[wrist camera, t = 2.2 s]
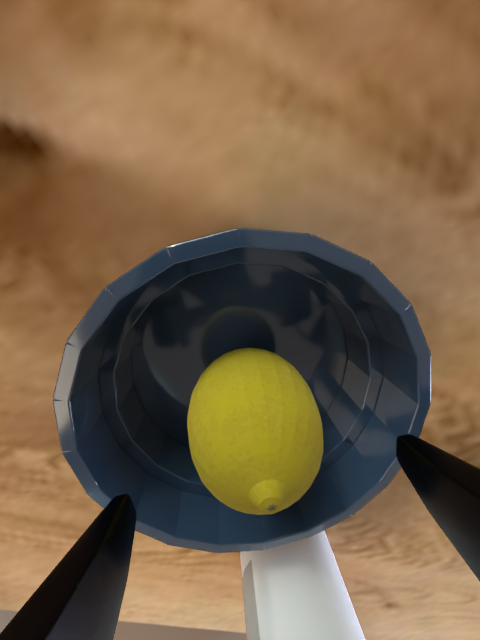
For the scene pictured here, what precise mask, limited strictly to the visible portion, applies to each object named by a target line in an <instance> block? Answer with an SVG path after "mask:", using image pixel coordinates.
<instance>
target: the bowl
mask: <svg viewBox="0 0 480 640" xmlns="http://www.w3.org/2000/svg"><path fill="white" fill-rule="evenodd" d="M249 347H250V348H259V349H265V350H267V351H270V352H273V353H275V354H277V355H279V356H281V357H282V358H283V359H285V360H286V361H287V362H289V363H290V364H291V365H293V366H294V367H295V369H296V370H297V371H298V372H299V373H300V375H301V376H302V377H303V379H304V380H305V381H306V383H307V384H308V386H309V387H310V389H311V392H312V394H313V397H314V399H315V402H316V404H317V407H318V410H319V413H320V416H321V421H322V428H323V455H322V460H321V464H320V468H319V471H318V473H317V475H316V477H315V479H314V481H313V483H312V485H311V486H310V488H309V489H308V490H307V491H306V493H305V494H304V495H303V496H302V497H301V498H300V499H299V500H298V501H296V502H295V503H293V504H292V505H291V506H289V507H287V508H285V509H283V510H281V511H279V512H276V513H274V514H265V515H255V514H247V513H243V512H240V511H237V510H234V509H232V508H230V507H228V506H227V505H225V504H224V503H222V502H221V501H219V500H218V499H217V498H216V497H214V496H213V494H212V493H211V492H210V491H209V490H208V489H207V488H206V487H205V485H204V484H203V482H202V481H201V479H200V477H199V474H198V472H197V470H196V468H195V465H194V463H193V460H192V457H191V452H190V447H189V437H188V428H187V417H188V410H189V405H190V400H191V395H192V392H193V389H194V387H195V386H196V384H197V382H198V380H199V378H200V376H201V374H202V373H203V371H204V370H205V369H206V368H207V367H208V366H209V365H210V364H211V363H212V362H213V361H214V360H216V359H217V358H219V357H220V356H222V355H223V354H225V353H227V352H230V351H233V350H235V349H241V348H249ZM430 402H431V354H430V350H429V347H428V344H427V342H426V339H425V337H424V334H423V332H422V329H421V326H420V324H419V321H418V319H417V316H416V314H415V311H414V309H413V306H412V305H411V303H410V302H409V301H408V300H407V299H406V298H405V297H404V296H403V295H402V293H401V292H400V291H399V290H398V289H397V288H396V287H395V286H394V285H393V284H392V283H391V282H390V281H389V280H388V279H387V278H386V277H385V276H384V275H383V273H382V272H381V271H380V270H379V269H378V268H377V267H376V266H375V265H374V264H373V263H371V262H370V261H369V260H367V259H365V258H362V257H360V256H358V255H356V254H354V253H352V252H350V251H347V250H345V249H343V248H341V247H339V246H337V245H334V244H332V243H330V242H328V241H326V240H324V239H322V238H319V237H317V236H315V235H310V234H309V233H297V232H285V231H273V230H261V229H249V228H239V229H238V228H235V229H231V230H227V231H224V232H220V233H216V234H212V235H208V236H204V237H200V238H196V239H193V240H189V241H185V242H181V243H177V244H173V245H169V246H167V247H165V248H162V249H161V250H159V251H158V252H156V253H155V254H153V255H152V256H150V257H149V258H147V259H146V260H144V261H143V262H141V263H140V264H139V265H137V266H136V267H134V268H133V269H131V270H130V271H128V272H127V273H125V274H124V275H122V276H121V277H119V278H118V279H116V280H115V281H113V282H112V283H110V284H109V285H107V286H106V288H104V289H103V290H102V292H101V293H100V294H99V296H98V297H97V299H96V300H95V301H94V303H93V304H92V306H91V307H90V309H89V310H88V311H87V313H86V314H85V316H84V317H83V318H82V320H81V321H80V323H79V324H78V325H77V327H76V328H75V330H74V331H73V332H72V334H71V335H70V337H69V338H68V339H67V342H66V344H65V349H64V353H63V357H62V361H61V366H60V370H59V374H58V379H57V383H56V387H55V391H54V396H53V405H54V410H55V416H56V422H57V428H58V434H59V439H60V445H61V451H62V454H63V455H64V457H65V459H66V460H67V462H68V464H69V465H70V467H71V469H72V470H73V472H74V473H75V475H76V477H77V478H78V480H79V482H80V483H81V485H82V487H83V488H84V490H85V491H86V493H87V494H88V495H89V496H90V497H91V498H92V499H93V500H95V501H96V502H97V503H98V504H99V505H101V506H102V507H103V508H105V507H106V506H107V505H108V503H109V502H110V501H111V500H112V499H113V498H114V497H115V496H117V495H122V494H129V495H130V497H131V500H132V502H133V504H134V507H135V509H136V513H137V519H136V526H135V530H136V531H138V532H140V533H142V534H145V535H147V536H149V537H152V538H154V539H156V540H159V541H161V542H163V543H166V544H168V545H171V546H178V547H184V548H190V549H196V550H202V551H208V552H214V553H226V552H244V551H261V550H264V549H265V550H267V549H270V548H274V547H278V546H281V545H285V544H289V543H292V542H296V541H300V540H303V539H307V538H310V537H312V536H314V535H316V534H318V533H320V532H322V531H324V530H326V529H328V528H330V527H332V526H334V525H336V524H337V523H339V522H341V521H343V520H345V519H347V518H349V517H351V515H354V514H355V513H356V512H357V511H359V510H360V509H361V508H362V507H363V506H365V505H366V504H367V503H368V502H369V501H370V500H372V499H373V498H374V497H375V496H376V495H378V494H379V493H380V492H381V491H382V490H383V489H385V488H386V487H387V485H389V484H390V482H391V481H392V480H393V478H394V477H395V475H396V474H397V473H398V471H399V470H400V468H401V465H400V464H399V462H398V460H397V457H396V440H397V437H398V436H400V435H405V434H411V435H414V436H416V437H418V438H419V435H420V433H421V430H422V427H423V424H424V421H425V418H426V415H427V412H428V410H429V407H430Z"/></svg>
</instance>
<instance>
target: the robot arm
mask: <svg viewBox="0 0 480 640" xmlns="http://www.w3.org/2000/svg"><path fill="white" fill-rule="evenodd" d="M396 457H397V460H398V462H399V464H400V465H401V467H402V469H403V470H404V472H405V473H406V475H407V477H408V478H409V480H410V482H411V483H412V485H413V486H414V488H415V490H416V491H417V493H418V495H419V496H420V498H421V500H422V501H423V503H424V504H425V506H426V508H427V509H428V511H429V512H430V514H431V515H432V516H433V518H434V519H435V521H436V522H437V524H438V525H439V526H440V528H441V529H442V530H443V532H444V533H445V534H446V536H447V537H448V539H449V540H450V541H451V543H452V544H453V545H454V547H455V548H456V549H457V551H458V552H459V554H460V555H461V556H462V558H463V559H464V560H465V562H466V563H467V564H468V566H469V567H470V569H471V570H472V571H473V573H474V574H475V575H476V577H477V578H478V579H479V581H480V469H479V468H477V467H475V466H473V465H471V464H469V463H467V462H465V461H463V460H461V459H459V458H457V457H455V456H453V455H451V454H449V453H447V452H445V451H443V450H441V449H439V448H437V447H435V446H433V445H431V444H430V443H428V442H426V441H424V440H422V439H420V438H418V437H416V436H414V435H411V434H405V435H400V436H398V437H397V440H396ZM136 519H137V513H136V509H135V507H134V504H133V502H132V500H131V497H130V495H129V494H122V495H117V496H115V497H114V498H113V499H112V500H111V501H110V502H109V503H108V505H107V506H106V507H105V508H104V509H103V511H102V512H101V513H100V514H99V515H98V517H97V518H96V519H95V520H94V521H93V523H92V524H91V525H90V526H89V527H88V529H87V530H86V531H85V532H84V533H83V535H82V536H81V537H80V538H79V539H78V541H77V542H76V543H75V544H74V546H73V547H72V548H71V549H70V550H69V552H68V553H67V554H66V555H65V556H64V558H63V559H62V560H61V561H60V562H59V564H58V565H57V566H56V567H55V568H54V570H53V571H52V572H51V573H50V574H49V576H48V577H47V578H46V579H45V580H44V582H43V583H42V584H41V585H40V586H39V588H38V589H37V590H36V591H35V592H34V594H33V595H32V596H31V597H30V598H29V600H28V601H27V602H26V603H25V604H24V606H23V607H22V608H21V609H20V610H19V612H18V613H17V614H16V615H15V617H14V618H13V619H12V620H11V621H10V623H9V624H8V625H7V626H6V628H5V629H4V630H3V631H2V632H1V633H0V640H113V638H114V633H115V628H116V625H117V621H118V617H119V612H120V608H121V604H122V600H123V596H124V591H125V587H126V582H127V577H128V571H129V565H130V558H131V552H132V545H133V539H134V532H135V526H136Z"/></svg>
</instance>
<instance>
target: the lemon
mask: <svg viewBox="0 0 480 640" xmlns="http://www.w3.org/2000/svg"><path fill="white" fill-rule="evenodd" d="M187 428H188V437H189V447H190V452H191V457H192V460H193V463H194V465H195V468H196V470H197V472H198V474H199V477H200V479H201V481H202V482H203V484H204V485H205V487H206V488H207V489H208V490H209V491H210V492H211V493H212V494H213V496H214V497H216V498H217V499H218V500H219V501H221V502H222V503H224V504H225V505H227V506H228V507H230V508H232V509H234V510H237V511H240V512H243V513H247V514H255V515H265V514H274V513H276V512H279V511H281V510H283V509H285V508H287V507H289V506H291V505H292V504H293V503H295V502H296V501H298V500H299V499H300V498H301V497H302V496H303V495H304V494H305V493H306V491H307V490H308V489H309V488H310V486H311V485H312V483H313V481H314V479H315V477H316V475H317V473H318V471H319V468H320V464H321V460H322V455H323V428H322V421H321V416H320V413H319V410H318V407H317V404H316V402H315V399H314V397H313V394H312V392H311V389H310V387H309V386H308V384H307V383H306V381H305V380H304V379H303V377H302V376H301V375H300V373H299V372H298V371H297V370H296V369H295V367H294V366H293V365H291V364H290V363H289V362H287V361H286V360H285V359H283V358H282V357H281V356H279V355H277V354H275V353H273V352H270V351H267V350H265V349H259V348H250V347H249V348H241V349H235V350H233V351H230V352H227V353H225V354H223V355H222V356H220V357H219V358H217V359H216V360H214V361H213V362H212V363H211V364H210V365H209V366H208V367H207V368H206V369H205V370H204V371H203V373H202V374H201V376H200V378H199V380H198V382H197V384H196V386H195V387H194V389H193V392H192V395H191V400H190V405H189V410H188V417H187Z"/></svg>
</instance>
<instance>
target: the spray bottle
mask: <svg viewBox="0 0 480 640" xmlns="http://www.w3.org/2000/svg"><path fill="white" fill-rule="evenodd" d="M240 558H241V571H242V584H243V598H244V611H245V624H246V637H247V640H365V637H364V634H363V632H362V629H361V626H360V624H359V621H358V618H357V616H356V613H355V610H354V608H353V605H352V602H351V600H350V597H349V594H348V592H347V589H346V586H345V584H344V581H343V578H342V576H341V573H340V570H339V568H338V565H337V562H336V560H335V557H334V554H333V552H332V549H331V546H330V544H329V541H328V538H327V536H326V533H325V530H324V531H322V532H320V533H318V534H316V535H314V536H312V537H310V538H307V539H303V540H300V541H296V542H292V543H289V544H285V545H281V546H278V547H274V548H270V549H267V550H265V549H264V550H261V551H244V552H240Z"/></svg>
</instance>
